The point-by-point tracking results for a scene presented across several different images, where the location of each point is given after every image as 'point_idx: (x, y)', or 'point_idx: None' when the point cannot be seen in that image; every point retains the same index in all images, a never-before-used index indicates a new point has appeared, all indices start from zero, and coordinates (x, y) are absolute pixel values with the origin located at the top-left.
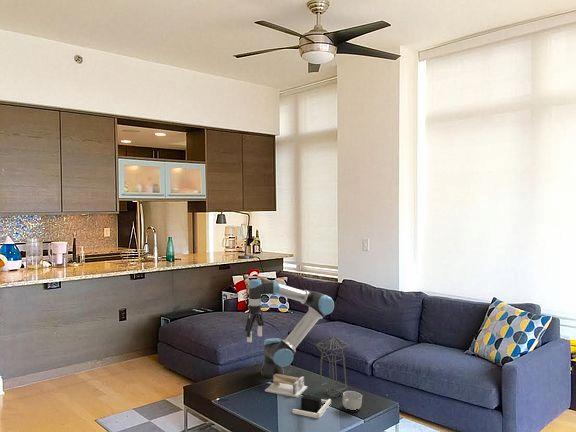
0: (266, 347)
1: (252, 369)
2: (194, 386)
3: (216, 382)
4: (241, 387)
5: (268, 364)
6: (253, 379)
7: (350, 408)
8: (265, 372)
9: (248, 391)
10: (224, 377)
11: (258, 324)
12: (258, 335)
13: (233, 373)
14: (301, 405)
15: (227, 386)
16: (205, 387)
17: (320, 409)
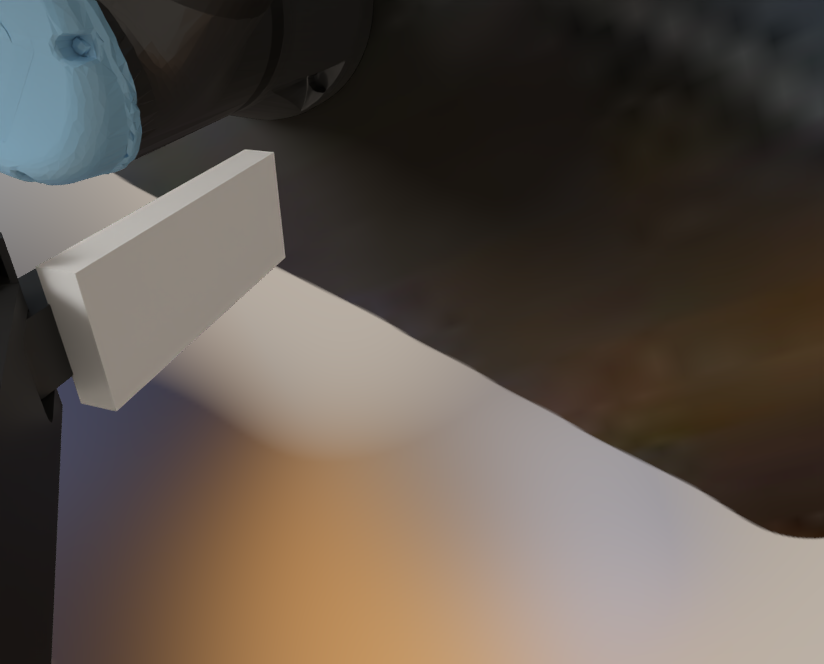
0: (170, 86)
1: None
2: (779, 505)
3: (649, 387)
4: (713, 144)
5: (290, 12)
6: (473, 115)
7: None
8: (351, 30)
9: (818, 21)
10: (523, 364)
11: (56, 413)
12: (274, 237)
13: (417, 328)
14: None
15: (719, 278)
16: (785, 432)
17: None
